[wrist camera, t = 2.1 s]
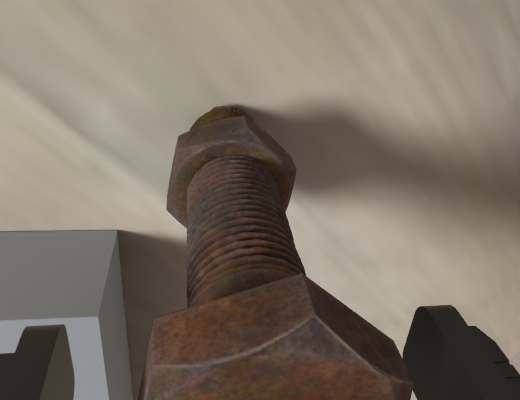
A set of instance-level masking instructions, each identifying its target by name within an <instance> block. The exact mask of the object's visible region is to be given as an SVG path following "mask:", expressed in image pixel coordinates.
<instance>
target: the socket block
mask: <svg viewBox="0 0 520 400" xmlns="http://www.w3.org/2000/svg"><path fill="white" fill-rule="evenodd" d="M59 324H64V325H65V327H66V330H67V335H68V341H69V346H70V352H71V358H72V363H73V369H74V377H75V387H74V398H73V400H133V392H132V381H131V370H130V360H129V349H128V339H127V328H126V317H125V307H124V296H123V285H122V275H121V264H120V254H119V243H118V232H117V230H90V231H25V232H0V354H3V353H15V351H16V348H17V345H18V343H19V340H20V337H21V334H22V332H23V330H24V328H25V327H27V326H40V325H59Z"/></svg>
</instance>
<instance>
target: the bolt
mask: <svg viewBox="0 0 520 400" xmlns="http://www.w3.org/2000/svg"><path fill="white" fill-rule="evenodd" d="M231 108H232V107H228V106H219V107H214V108H213V109H212V110H211V111H210V112H208V113H206V114H204V115H203V116H201V117H200V118H198V119H197V121H196V122H195V123H194V125H193V126H192V127H191V129H190V131H188V132H186V133H184V134H182V135H180V136H178V140H177V145H176V149H175V154H174V159H173V165H172V170H171V176H170V182H169V188H168V195H167V211H168V212H169V213H170V214H171V215H172V216H173V217H174V218H175V219H176V220H177V221H179V222H180V223H181V224H182V225H183V226H185V227H186V228H187V249H188V254H187V298H188V302H187V308H186V309H183V310H179V311H176V312H173V313H170V314H166V315H163V316H160V317H156V318H154V321H153V326H152V331H151V336H150V341H149V346H148V351H147V356H146V361H145V366H144V371H143V376H142V381H141V386H140V391H139V396H138V400H410V398H411V394H412V389H413V384H414V382H413V380H412V378H411V376H410V374H409V372H408V370H407V368H406V366H405V364H404V361H403V359H402V357H401V355H400V353H399V351H398V349H397V347H396V345H395V343H394V341H393V340H392V339H391V338H389V337H388V336H386V335H385V334H384V333H382V332H381V331H380V330H378V329H377V328H376V327H374V326H373V325H371V324H370V323H369V322H367V321H366V320H365V319H363V318H362V317H361V316H359V315H358V314H357V313H355V312H354V311H352V310H351V309H350V308H348V307H347V306H346V305H344V304H343V303H342V302H340V301H339V300H338V299H336V298H335V297H333V296H332V295H331V294H329V293H328V292H327V291H325V290H324V289H323V288H321V287H320V286H318V285H317V284H316V283H314V282H313V281H312V280H310V279H309V278H308V277H306V273H305V270H304V267H303V265H302V262H301V259H300V257H299V255H298V252H297V250H296V248H295V244H294V240H293V236H292V232H291V229H290V226H289V223H288V219H287V217H286V213H285V212H286V209H287V207H288V204H289V201H290V197H291V193H292V189H293V185H294V180H295V175H296V167H295V165H294V163H293V161H292V158H291V156H290V155H289V154H288V153H287V152H286V151H285V150H284V149H283V148H282V147H281V146H280V145H279V144H278V143H277V142H276V141H275V140H273V139H272V138H271V137H270V136H269V135H268V134H267V133H266V132H265V131H263V130H262V129H261V128H260V127H259V126H257V125H256V124H255V123H254V122H253V120H252V119H251V118H250V117H249V116H248V115H247V114H246V113H245V112H243V111H242V110H239V109H237V111H236V110H233V111H232V112H231V110H232V109H231Z"/></svg>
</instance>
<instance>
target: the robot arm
mask: <svg viewBox="0 0 520 400" xmlns="http://www.w3.org/2000/svg"><path fill="white" fill-rule="evenodd" d="M403 361H404V364H405V366H406V368H407V370H408V372H409V374H410V376H411V378H412V380H413V382H414V384H413V389H412V390H413V392H414V394H415V396H416V398H417V400H520V375H519V373H518V372H517V370H516V369H515V368H514V366H513V365H510V364H509V360H508V358H507V357H506V356H505V354H504V353H503V352H502V350H501V349H500V348H499V346H498V345H497V344H496V342H495V341H493V340H492V339H491V338H490V337H488V336H487V335H486V334H485V333H483V332H482V331H481V330H480V329H478V328H477V327H476V326H468V325H467V324H466V322H465V321H464V319H463V318H462V317H461V315H460V314H459V312H458V311H457V310H456V308H454V307H453V306H451V305H440V306H421V307H418V308H417V310H416V312H415V315H414V318H413V321H412V324H411V327H410V331H409V334H408V337H407V340H406V344H405V347H404V350H403ZM74 387H75V377H74V369H73V363H72V358H71V352H70V346H69V341H68V335H67V330H66V327H65V325H64V324H59V325H40V326H27V327H25V328H24V330H23V332H22V334H21V337H20V340H19V343H18V345H17V348H16V351H15V353H3V354H0V400H73V398H74Z"/></svg>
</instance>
